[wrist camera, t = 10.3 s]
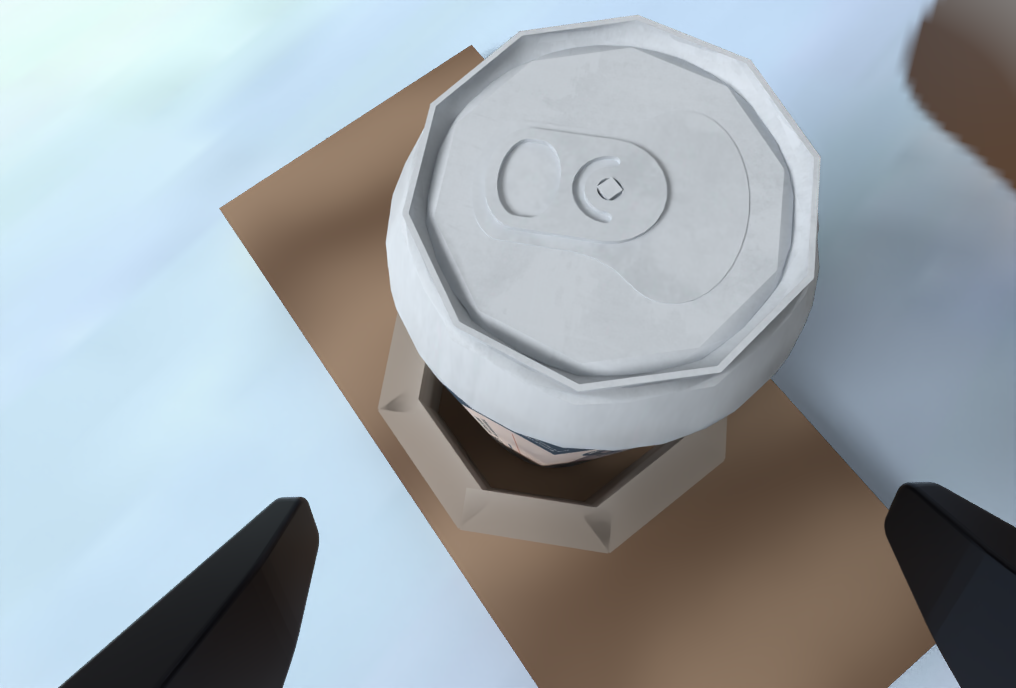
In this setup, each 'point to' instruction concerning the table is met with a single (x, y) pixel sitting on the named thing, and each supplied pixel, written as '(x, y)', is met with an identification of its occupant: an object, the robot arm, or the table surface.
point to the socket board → (589, 476)
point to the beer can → (605, 238)
